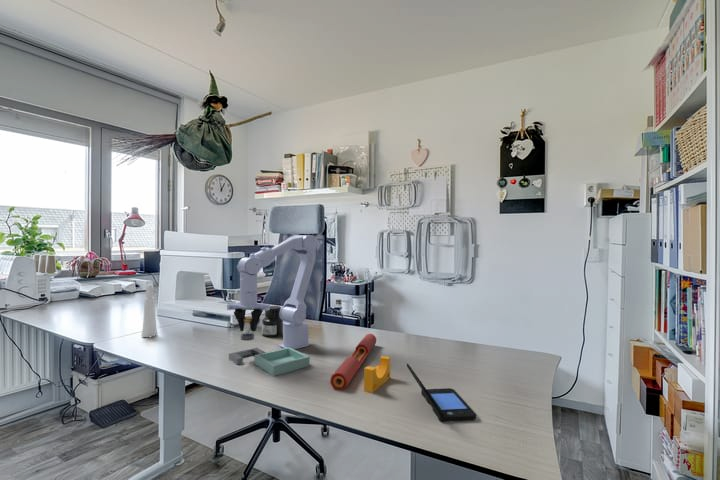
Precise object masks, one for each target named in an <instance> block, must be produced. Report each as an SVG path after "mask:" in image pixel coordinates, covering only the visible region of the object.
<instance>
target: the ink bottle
mask: <svg viewBox="0 0 720 480" xmlns="http://www.w3.org/2000/svg"><path fill="white" fill-rule="evenodd" d="M281 308H282V307H281V306H278V305H270V310H268V311H265V310H264V316H265V317H264V318H263V319H262V321H261V335H262V336H263V337H267V338H275V337H280V336H283V320H282V319H281V318H280V310H281Z"/></svg>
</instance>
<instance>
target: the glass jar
mask: <svg viewBox="0 0 720 480" xmlns="http://www.w3.org/2000/svg"><path fill="white" fill-rule="evenodd" d="M243 321H244V322H243V331H242V333H241V334H240V340H241V341H253V340H254V339H255V334H254V333H253V332H254V331H252V316H250V317H249V316H245V318H243Z"/></svg>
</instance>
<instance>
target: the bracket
mask: <svg viewBox="0 0 720 480" xmlns="http://www.w3.org/2000/svg"><path fill="white" fill-rule="evenodd" d="M262 353H266V351H264V350H262V349H261V348H258V347H253V348H250V349H245V350H244V349H243V350H239V351H235V352H231V353H228V360H230V361H232V362H233V364H235V365H240V364H243V363H244V359H243V357H249V356H255V355H258V354H262Z"/></svg>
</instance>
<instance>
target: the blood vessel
mask: <svg viewBox="0 0 720 480" xmlns="http://www.w3.org/2000/svg"><path fill="white" fill-rule="evenodd" d="M376 344H377V337H376V336H375V335H374V334H372V333H367V334H366V335H365V336H363V338H362V339H361V340H360V342H358V344H357V345H356V346H355V350H354V352H353V353H352V354H351V355H349V356H347V358H345V359H344V361H343V362H342V363H341V364H340V366H339V367H338V368H337V369H336V370H335V371H334V372H333V374H332V375H331V377H330V385H331V387H332V388H333V389H335V390H341V391H343V390H345V389H346V388H347V386H348V385H349V383H350V382H351V380H352V379H353V378H354V376H355V375H356V373H357V372H358V370H359V369H360V368H361V366H362V364H363V363H364V362H365V360H366V359H367V357H368V355H369V354H370V353H371V351H372V350H373V348H374V347H375V345H376Z"/></svg>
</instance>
